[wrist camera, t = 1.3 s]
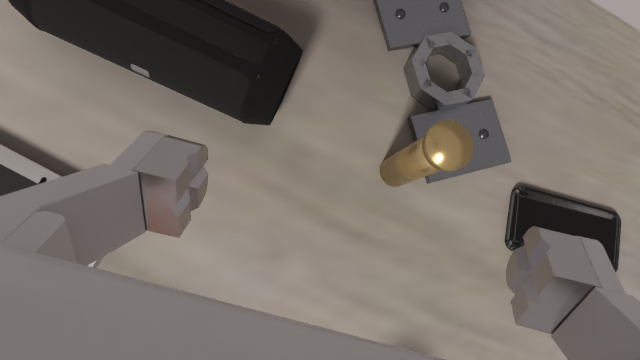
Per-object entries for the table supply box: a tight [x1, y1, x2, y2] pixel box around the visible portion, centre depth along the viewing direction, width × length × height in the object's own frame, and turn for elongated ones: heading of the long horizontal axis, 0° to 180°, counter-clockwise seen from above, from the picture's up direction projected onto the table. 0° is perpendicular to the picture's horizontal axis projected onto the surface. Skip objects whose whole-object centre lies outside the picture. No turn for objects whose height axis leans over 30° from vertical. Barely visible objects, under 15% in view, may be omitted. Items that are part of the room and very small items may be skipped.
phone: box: [505, 187, 621, 272], centre depth 52 cm, size 8×1×15 cm
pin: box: [380, 120, 473, 187], centre depth 43 cm, size 4×4×13 cm
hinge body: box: [373, 0, 511, 183], centre depth 51 cm, size 24×11×2 cm, turn 15°
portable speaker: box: [9, 0, 303, 125], centre depth 41 cm, size 26×10×10 cm, turn 68°
